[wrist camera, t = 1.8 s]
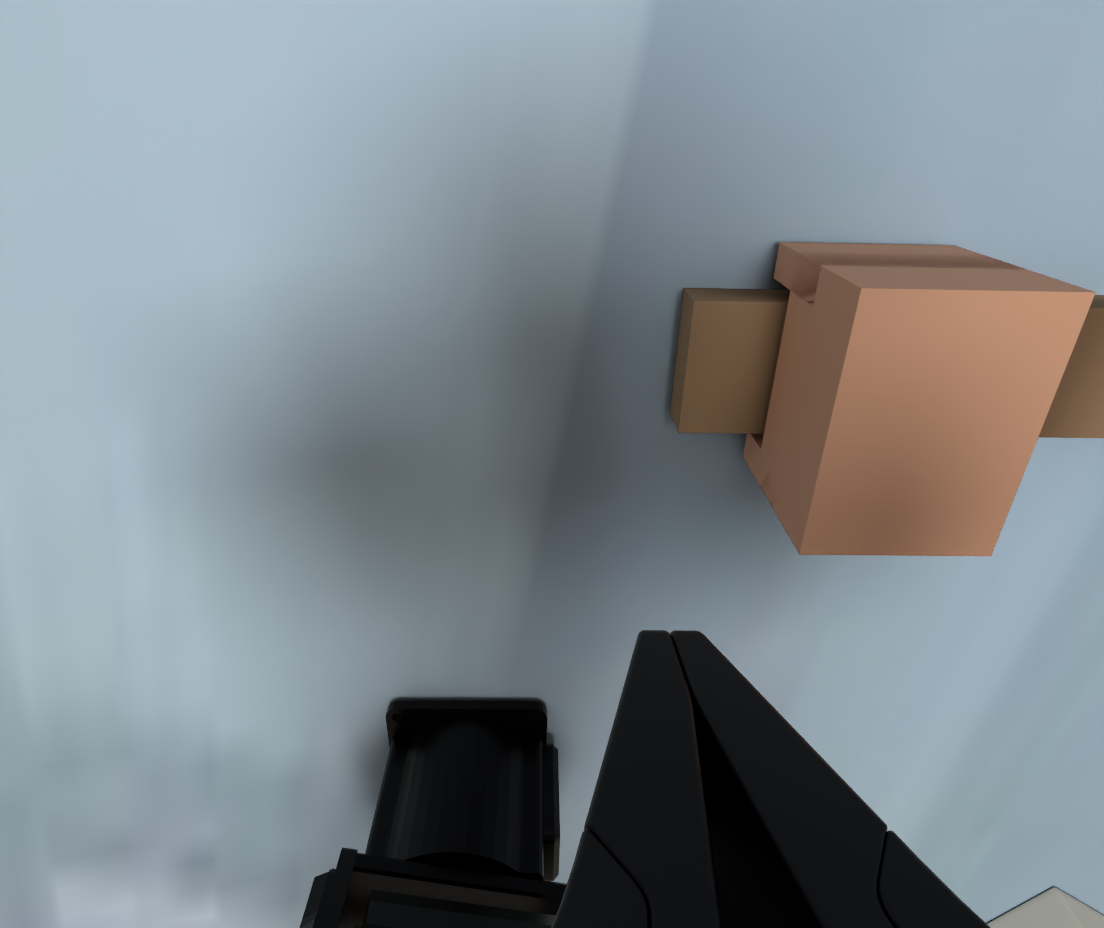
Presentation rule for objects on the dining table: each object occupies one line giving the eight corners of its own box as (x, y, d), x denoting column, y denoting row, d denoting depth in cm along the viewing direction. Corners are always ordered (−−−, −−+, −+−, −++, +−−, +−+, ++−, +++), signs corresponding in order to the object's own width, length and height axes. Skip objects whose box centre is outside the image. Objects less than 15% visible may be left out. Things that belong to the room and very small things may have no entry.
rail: (665, 454, 22) (695, 539, 18) (689, 235, 19) (734, 273, 15) (1252, 461, 23) (1422, 546, 18) (1374, 248, 20) (1616, 288, 15)
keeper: (742, 456, 22) (799, 554, 17) (779, 242, 19) (861, 288, 14) (892, 458, 22) (991, 556, 17) (954, 245, 19) (1096, 292, 14)
